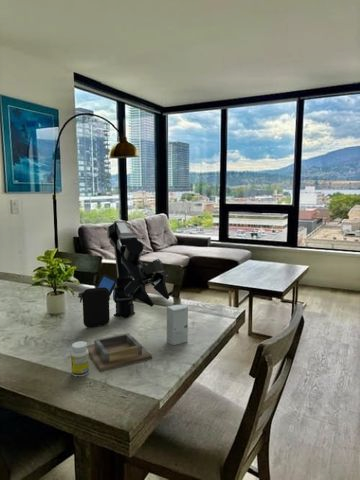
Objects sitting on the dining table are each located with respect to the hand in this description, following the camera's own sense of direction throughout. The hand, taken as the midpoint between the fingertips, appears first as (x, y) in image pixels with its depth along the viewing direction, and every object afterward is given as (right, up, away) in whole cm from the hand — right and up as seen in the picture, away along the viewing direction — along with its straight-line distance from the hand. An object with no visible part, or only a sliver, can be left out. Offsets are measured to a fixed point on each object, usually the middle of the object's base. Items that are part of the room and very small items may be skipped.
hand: (160, 302), depth 122 cm
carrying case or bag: (-25, -11, +11) cm, 29 cm away
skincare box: (+6, -13, -2) cm, 14 cm away
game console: (-32, -6, +47) cm, 58 cm away
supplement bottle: (-21, -16, -22) cm, 35 cm away
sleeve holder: (-13, -14, -11) cm, 22 cm away
